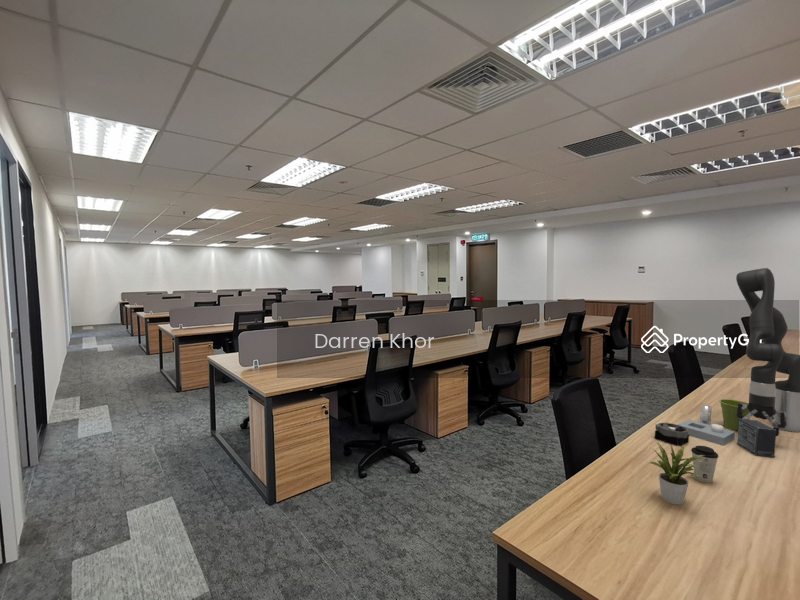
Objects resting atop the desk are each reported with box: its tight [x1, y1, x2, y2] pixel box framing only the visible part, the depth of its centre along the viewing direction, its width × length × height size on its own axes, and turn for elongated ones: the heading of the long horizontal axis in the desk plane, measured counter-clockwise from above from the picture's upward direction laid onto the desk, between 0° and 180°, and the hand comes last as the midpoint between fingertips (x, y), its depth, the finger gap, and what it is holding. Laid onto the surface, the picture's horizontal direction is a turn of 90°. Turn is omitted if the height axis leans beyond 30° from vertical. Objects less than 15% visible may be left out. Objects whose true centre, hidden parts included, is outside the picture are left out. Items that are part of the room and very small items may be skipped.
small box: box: [736, 419, 777, 458], centre depth 143 cm, size 11×6×10 cm, turn 168°
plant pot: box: [718, 398, 750, 431], centre depth 165 cm, size 12×12×11 cm
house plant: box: [648, 441, 705, 506], centre depth 108 cm, size 14×14×16 cm
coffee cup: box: [690, 445, 719, 484], centre depth 122 cm, size 7×7×10 cm
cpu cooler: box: [654, 422, 690, 447], centre depth 152 cm, size 10×6×10 cm
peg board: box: [676, 419, 736, 446], centre depth 157 cm, size 12×16×5 cm
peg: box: [699, 404, 712, 425], centre depth 165 cm, size 4×4×10 cm
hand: (760, 433), depth 151 cm, fingers open, 8 cm apart
